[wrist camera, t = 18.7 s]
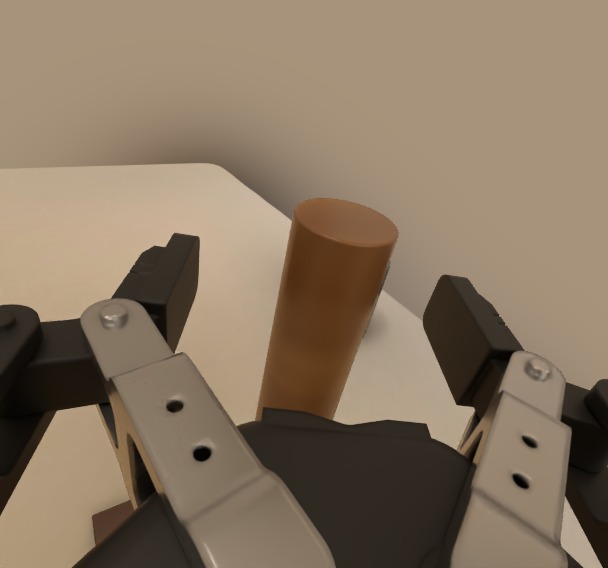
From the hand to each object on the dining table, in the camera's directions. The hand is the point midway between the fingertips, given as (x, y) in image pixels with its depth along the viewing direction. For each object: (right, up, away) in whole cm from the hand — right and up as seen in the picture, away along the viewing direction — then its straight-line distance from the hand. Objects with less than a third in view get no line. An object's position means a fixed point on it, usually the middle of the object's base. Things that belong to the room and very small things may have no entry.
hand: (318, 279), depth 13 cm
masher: (-4, -17, +9) cm, 19 cm away
